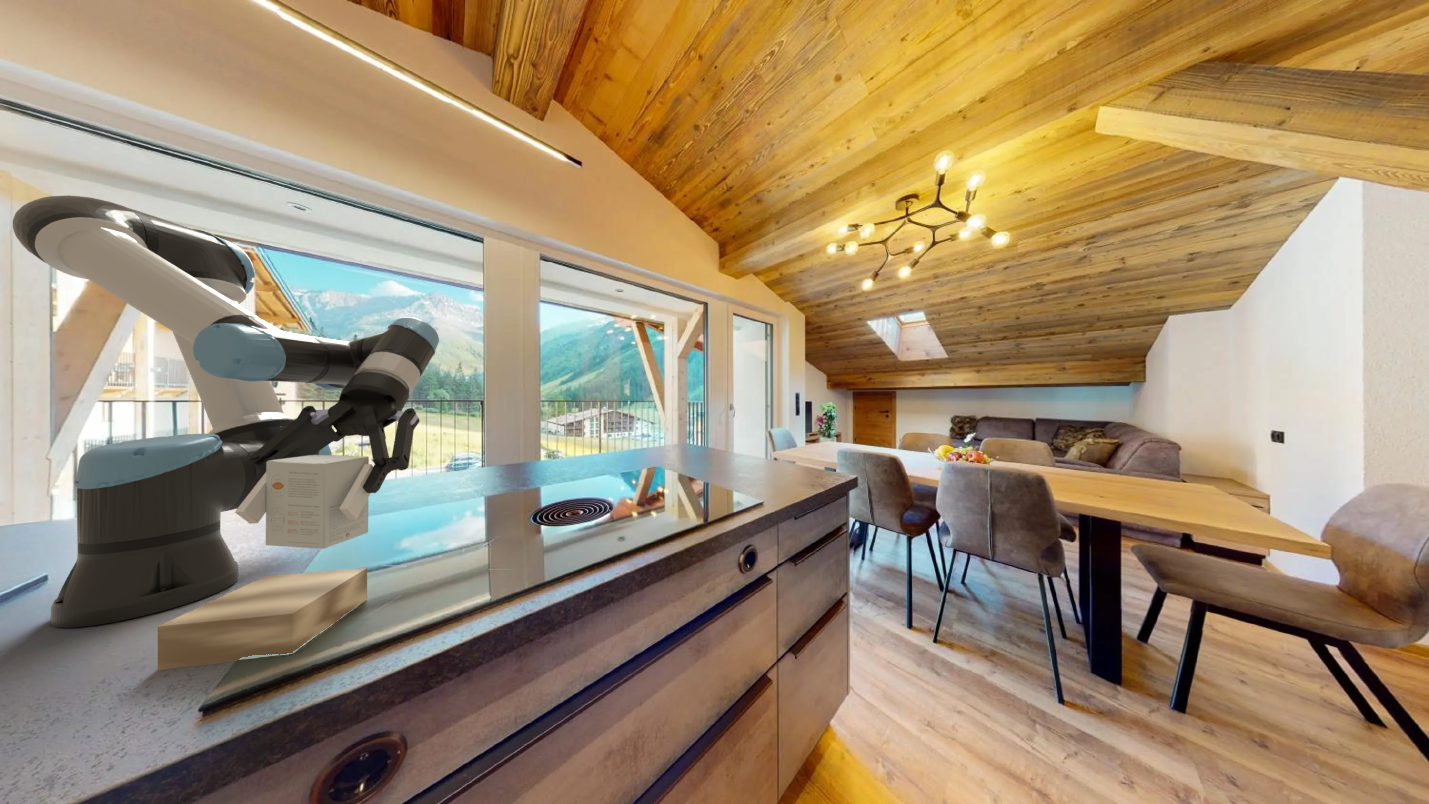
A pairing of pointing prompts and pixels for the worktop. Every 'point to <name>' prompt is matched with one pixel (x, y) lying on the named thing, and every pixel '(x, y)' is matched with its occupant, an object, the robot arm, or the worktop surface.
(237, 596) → the maple block
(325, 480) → the small box
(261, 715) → the worktop surface
